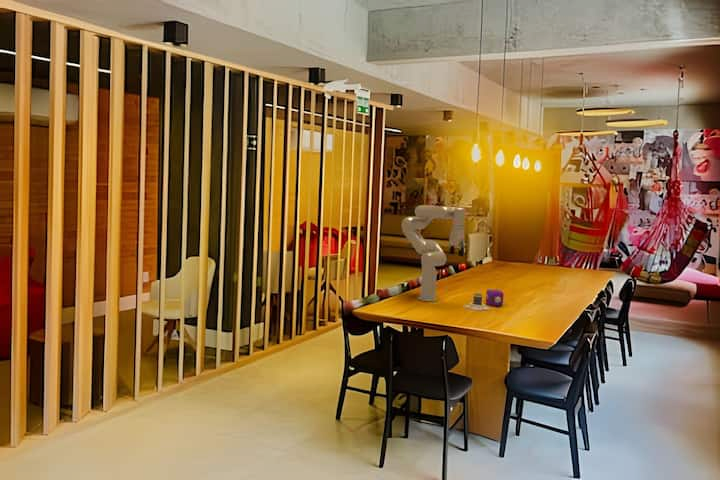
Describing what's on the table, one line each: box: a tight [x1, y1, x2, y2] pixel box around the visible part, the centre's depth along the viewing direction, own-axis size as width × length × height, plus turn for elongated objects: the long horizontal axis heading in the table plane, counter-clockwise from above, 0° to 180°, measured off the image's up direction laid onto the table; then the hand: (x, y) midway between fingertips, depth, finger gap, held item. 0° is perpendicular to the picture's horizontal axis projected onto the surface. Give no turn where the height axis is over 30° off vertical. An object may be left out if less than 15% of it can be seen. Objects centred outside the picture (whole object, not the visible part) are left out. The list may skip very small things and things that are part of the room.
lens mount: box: [463, 302, 492, 312], centre depth 390 cm, size 12×12×3 cm
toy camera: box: [485, 288, 504, 307], centre depth 404 cm, size 11×14×10 cm
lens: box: [473, 293, 483, 305], centre depth 390 cm, size 5×5×8 cm
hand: (456, 255), depth 390 cm, fingers open, 9 cm apart
